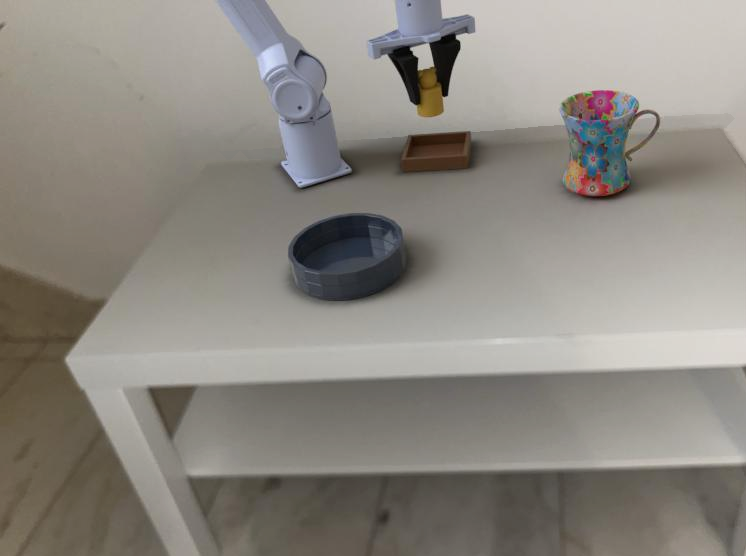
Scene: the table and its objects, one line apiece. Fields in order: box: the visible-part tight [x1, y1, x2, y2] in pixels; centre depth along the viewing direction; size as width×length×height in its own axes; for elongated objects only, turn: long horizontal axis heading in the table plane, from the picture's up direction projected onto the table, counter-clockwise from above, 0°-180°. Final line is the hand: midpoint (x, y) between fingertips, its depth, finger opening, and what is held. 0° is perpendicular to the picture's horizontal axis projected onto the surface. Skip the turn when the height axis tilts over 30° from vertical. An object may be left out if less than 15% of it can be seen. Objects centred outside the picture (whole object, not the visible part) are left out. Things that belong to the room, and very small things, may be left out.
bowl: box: [287, 212, 407, 302], centre depth 88 cm, size 13×13×4 cm
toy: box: [416, 66, 445, 118], centre depth 103 cm, size 4×4×6 cm
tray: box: [400, 130, 472, 173], centre depth 109 cm, size 9×8×2 cm
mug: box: [558, 89, 661, 197], centre depth 95 cm, size 12×9×11 cm
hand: (428, 98), depth 104 cm, fingers closed on toy, 3 cm apart
